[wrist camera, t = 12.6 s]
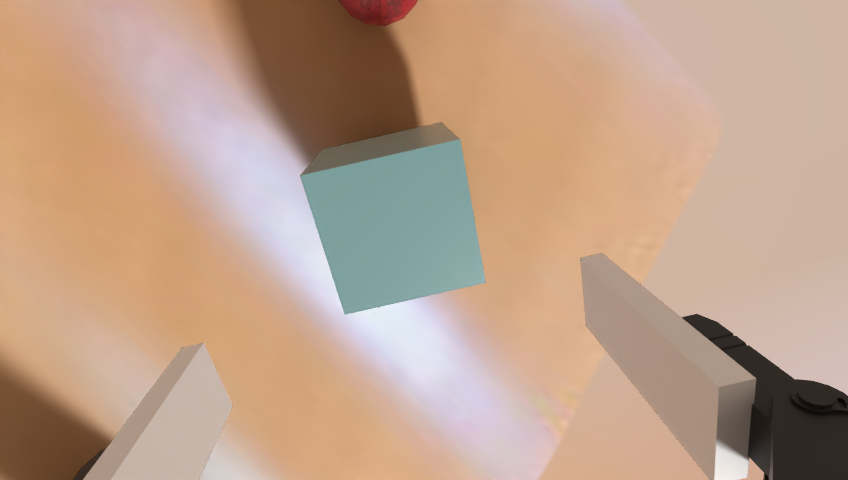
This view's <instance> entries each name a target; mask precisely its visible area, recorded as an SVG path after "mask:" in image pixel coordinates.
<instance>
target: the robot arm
mask: <svg viewBox="0 0 848 480" xmlns="http://www.w3.org/2000/svg"><path fill="white" fill-rule="evenodd" d="M580 260H581V272H582V284H583V296H584V309H585V321H586V327H587V328H588V329H589V330H590V332H591V333H592V334H593V335H594V336H595V338H596V339H597V340H598V341H599V343H600V344H601V345H602V346H603V348H604V349H605V350H606V351H607V352H608V354H609V355H610V356H611V358H612V359H613V360H614V361H615V363H616V364H617V365H618V366H619V367H620V369H621V370H622V371H623V373H624V374H625V375H626V376H627V377H628V379H629V380H630V381H631V382H632V384H633V385H634V386H635V387H636V389H637V390H638V391H639V392H640V394H641V395H642V396H643V397H644V399H645V400H646V401H647V402H648V403H649V405H650V406H651V407H652V408H653V410H654V411H655V412H656V414H657V415H658V416H659V417H660V419H661V420H662V421H663V422H664V423H665V425H666V426H667V427H668V428H669V429H670V431H671V432H672V433H673V435H674V436H675V437H676V438H677V440H678V441H679V442H680V443H681V445H682V446H683V447H684V448H685V450H686V451H687V452H688V453H689V455H690V456H691V457H692V458H693V460H694V461H695V462H696V463H697V464H698V466H699V467H700V468H701V469H702V471H703V472H704V473H705V474H706V476H707V477H708V478H709V479H710V480H738V479H742V478H747V477H748V466H749V457H750V458H751V459H752V460H753V461H754V462H755V464H756V465H757V466H758V467H759V468H760V469H761V470H762V471H763V472H764V479H763V480H848V396H847V395H846V394H845V393H843V392H841V391H839V390H837V389H835V388H833V387H831V386H829V385H825V384H822V383H818V382H815V381H808V380H795V379H793V378H792V377H791V376H789V375H788V374H787V373H785V372H784V371H783V370H781V369H780V368H779V367H777V366H776V365H775V364H773V363H772V362H770V361H769V360H768V359H766V358H765V357H764V356H762V355H761V354H760V353H758V352H757V351H756V350H754V349H753V348H752V347H750V346H747V345H746V343H745V342H744V341H742V340H741V339H739V338H738V337H737V336H733V333H731V332H730V331H729V330H727V329H726V328H725V327H723V326H722V325H720V324H719V323H718V322H716V321H713V320H711V319H708V318H706V317H703V316H701V315H698V314H694V315H690V316H686V317H680V316H679V315H678V314H676V313H675V312H674V311H673V310H672V309H670V308H669V307H668V306H667V305H665V304H664V303H663V302H662V301H661V300H659V299H658V298H657V297H656V296H654V295H653V294H652V293H651V292H649V291H648V290H647V289H646V288H645V287H643V286H642V285H641V284H640V283H638V282H637V281H636V280H635V279H634V278H632V277H631V276H630V275H629V274H627V273H626V272H625V271H624V270H622V269H621V268H620V267H619V266H618V265H616V264H615V263H614V262H613V261H611V260H610V259H609V258H608V257H607V256H605V255H604V254H603V253H600V254H595V255H591V256H586V257H582V258H580ZM232 407H233V405H232V403H231V401H230V398H229V396H228V394H227V392H226V390H225V388H224V386H223V383H222V381H221V379H220V377H219V375H218V373H217V370H216V368H215V366H214V364H213V362H212V360H211V358H210V355H209V353H208V351H207V349H206V347H205V345H204V343H200V344H196V345H192V346H187V347H183V348H181V349H180V351H179V352H178V353H177V355H176V356H175V357H174V359H173V360H172V361H171V363H170V364H169V365H168V367H167V368H166V369H165V371H164V372H163V373H162V375H161V376H160V377H159V379H158V380H157V381H156V383H155V384H154V385H153V387H152V388H151V389H150V391H149V392H148V393H147V395H146V396H145V397H144V399H143V400H142V401H141V403H140V404H139V405H138V407H137V408H136V409H135V411H134V412H133V413H132V415H131V416H130V417H129V419H128V420H127V421H126V423H125V424H124V425H123V427H122V428H121V429H120V431H119V432H118V433H117V435H116V436H115V438H114V439H113V440H112V442H111V443H110V444H109V446H108V447H107V448H106V449H104V450H101V451H100V452H99V453H98V454H96V455H95V456H94V457H93V458H92V459H91V460H90V461H89V462H87V463H86V464H85V465H84V466H83V467H82V468H81V469H80V471H79V472H78V473H77V474H76V476H75V477H74V478H73V480H199V478H200V476H201V474H202V472H203V470H204V467H205V465H206V463H207V461H208V459H209V456H210V454H211V452H212V450H213V448H214V446H215V443H216V441H217V439H218V437H219V435H220V433H221V430H222V428H223V426H224V424H225V422H226V420H227V417H228V415H229V413H230V411H231V409H232Z"/></svg>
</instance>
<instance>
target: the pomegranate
mask: <svg viewBox="0 0 848 480" xmlns="http://www.w3.org/2000/svg"><path fill="white" fill-rule="evenodd" d="M339 1H340V3H341V4H342V5H343V6H344V8H345V9H346V10H347V11H348V13H349V14H350V15H351V16H353V17H355V18H357V19H358V20H360V21H362V22H364V23H366V24H371V25H381V26H387V25H389V24H391V23H394V22H396V21H399V20H401V19H403V18H404V17H405V16H406V15H407V14H408V13H409V11H410V10H411V9H412V8H413V7H414V6H415V5H416V3H417V0H339Z"/></svg>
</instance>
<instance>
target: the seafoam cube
mask: <svg viewBox="0 0 848 480" xmlns="http://www.w3.org/2000/svg"><path fill="white" fill-rule="evenodd" d="M300 177H301V180H302V183H303V186H304V189H305V192H306V196H307V199H308V202H309V205H310V208H311V211H312V214H313V217H314V220H315V224H316V227H317V230H318V233H319V236H320V239H321V242H322V245H323V248H324V251H325V255H326V258H327V261H328V264H329V267H330V270H331V273H332V276H333V279H334V283H335V286H336V289H337V292H338V295H339V298H340V301H341V304H342V307H343V310H344V314H349V313H354V312H358V311H363V310H367V309H372V308H376V307H380V306H385V305H389V304H394V303H398V302H403V301H407V300H411V299H416V298H420V297H425V296H429V295H434V294H438V293H442V292H447V291H451V290H456V289H460V288H465V287H469V286H473V285H478V284H482V283H486V281H485V276H484V270H483V264H482V259H481V253H480V248H479V242H478V236H477V231H476V225H475V220H474V214H473V208H472V203H471V197H470V192H469V186H468V180H467V175H466V169H465V164H464V158H463V152H462V147H461V141H460V139H459V138H458V137H457V136H456V135H455V134H454V133H453V132H452V131H451V130H449V129H448V128H447V127H446V126H445V125H444V124H443V123H442V122H440V123H435V124H431V125H427V126H422V127H418V128H413V129H409V130H405V131H400V132H396V133H391V134H387V135H383V136H378V137H374V138H369V139H365V140H361V141H356V142H352V143H347V144H343V145H339V146H334V147H330V148H325V149H322V151H321V152H320V153H319V154H318V155H317V156H316V158H315V159H314V160H313V161H312V162H311V163H310V165H309V166H308V167H307V168H306V169H305V170H304V172H303V173H302V174H301V175H300Z"/></svg>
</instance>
